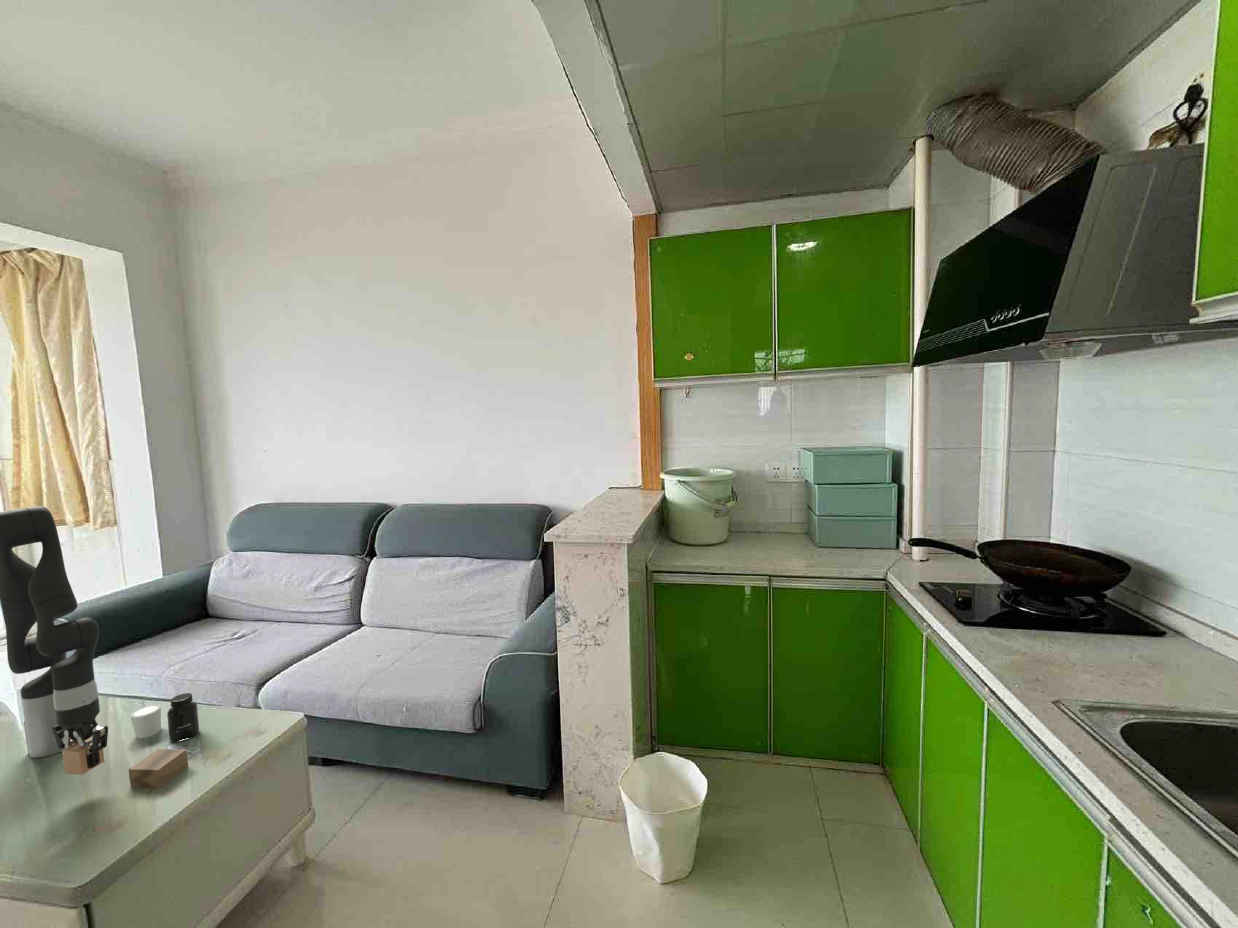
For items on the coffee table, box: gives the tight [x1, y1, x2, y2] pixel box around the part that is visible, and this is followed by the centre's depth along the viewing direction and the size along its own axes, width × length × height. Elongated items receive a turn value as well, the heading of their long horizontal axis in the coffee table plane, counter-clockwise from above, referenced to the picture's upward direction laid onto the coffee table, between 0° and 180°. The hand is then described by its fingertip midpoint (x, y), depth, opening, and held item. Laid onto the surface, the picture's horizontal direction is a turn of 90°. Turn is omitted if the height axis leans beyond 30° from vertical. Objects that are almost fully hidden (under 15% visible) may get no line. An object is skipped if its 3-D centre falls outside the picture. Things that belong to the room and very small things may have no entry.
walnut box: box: [128, 748, 189, 788], centre depth 136 cm, size 8×8×5 cm
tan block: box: [61, 737, 105, 776], centre depth 130 cm, size 5×5×6 cm
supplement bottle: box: [166, 692, 200, 743], centre depth 153 cm, size 7×7×12 cm
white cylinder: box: [129, 704, 162, 739], centre depth 156 cm, size 7×7×7 cm
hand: (84, 764), depth 130 cm, fingers closed on tan block, 5 cm apart
